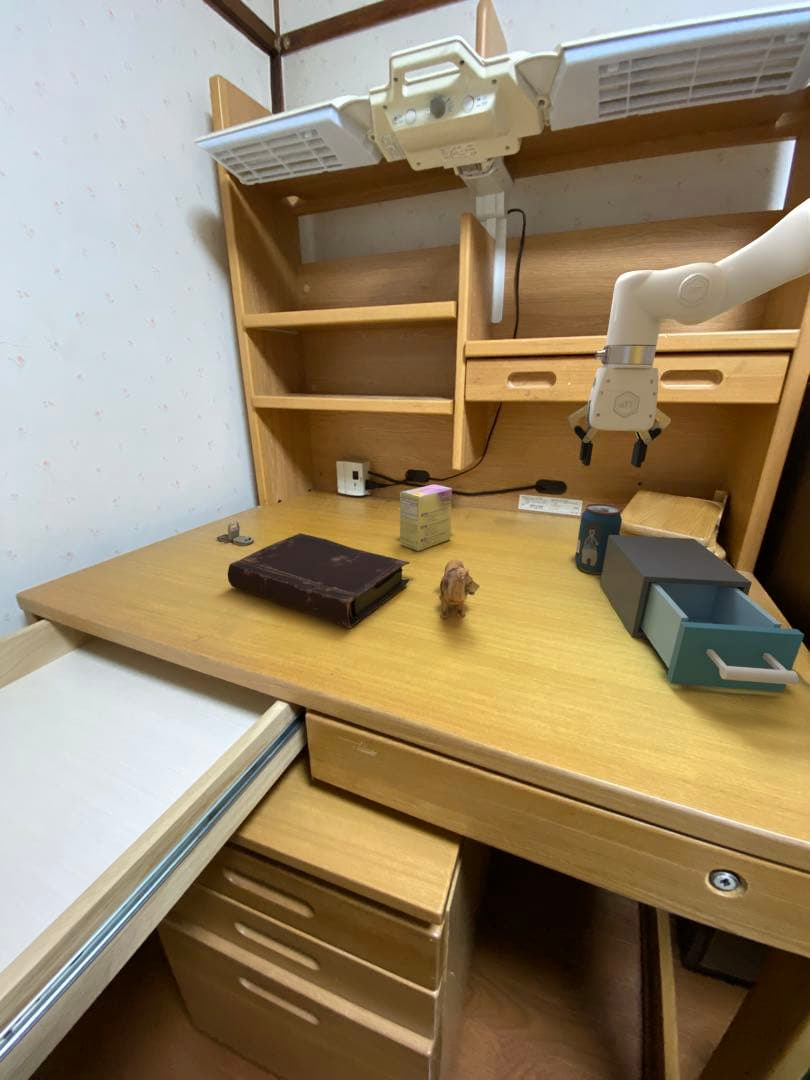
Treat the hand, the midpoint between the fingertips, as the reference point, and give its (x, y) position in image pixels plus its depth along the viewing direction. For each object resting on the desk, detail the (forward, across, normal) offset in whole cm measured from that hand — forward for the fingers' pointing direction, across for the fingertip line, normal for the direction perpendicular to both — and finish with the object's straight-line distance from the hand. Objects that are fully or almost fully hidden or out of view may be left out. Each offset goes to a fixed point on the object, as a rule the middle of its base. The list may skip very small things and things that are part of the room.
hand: (610, 464), depth 81 cm
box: (+20, -33, +9) cm, 40 cm away
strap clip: (+20, -74, +4) cm, 77 cm away
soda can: (+20, 0, 0) cm, 20 cm away
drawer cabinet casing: (+20, +6, -16) cm, 26 cm away
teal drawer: (+19, +6, -30) cm, 36 cm away
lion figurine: (+20, -26, -19) cm, 38 cm away
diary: (+20, -49, -15) cm, 55 cm away
